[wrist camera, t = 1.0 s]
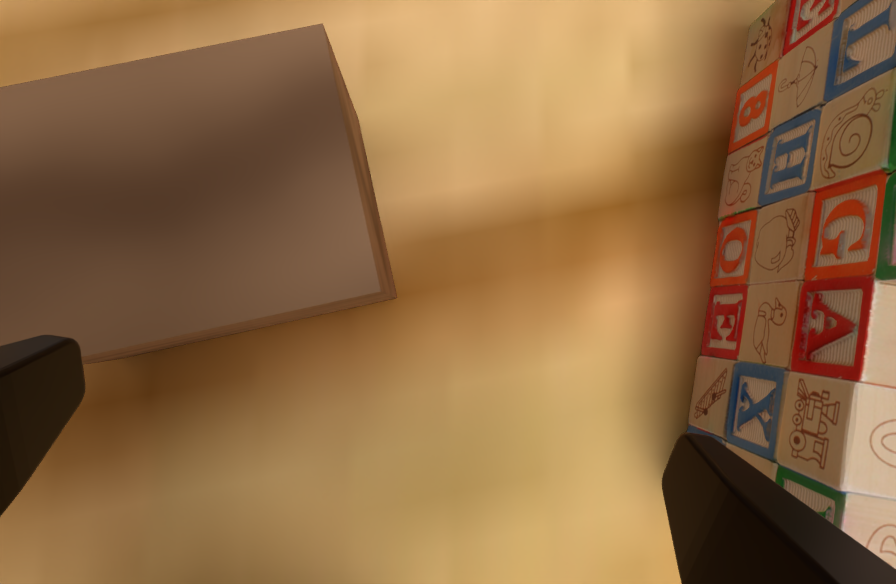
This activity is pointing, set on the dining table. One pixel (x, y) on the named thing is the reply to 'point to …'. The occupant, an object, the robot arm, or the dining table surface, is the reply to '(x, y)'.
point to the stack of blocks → (810, 266)
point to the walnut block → (186, 198)
